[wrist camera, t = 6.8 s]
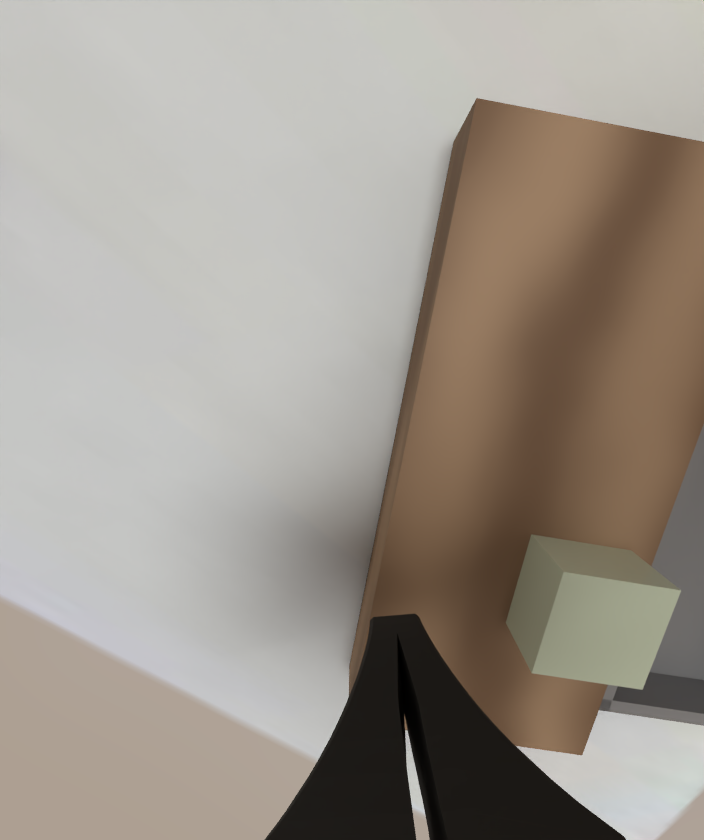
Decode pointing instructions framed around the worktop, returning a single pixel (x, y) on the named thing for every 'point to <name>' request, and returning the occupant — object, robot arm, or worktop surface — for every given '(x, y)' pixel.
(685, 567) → the tray
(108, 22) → the worktop surface
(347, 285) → the worktop surface
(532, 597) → the tile sage
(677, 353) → the board
